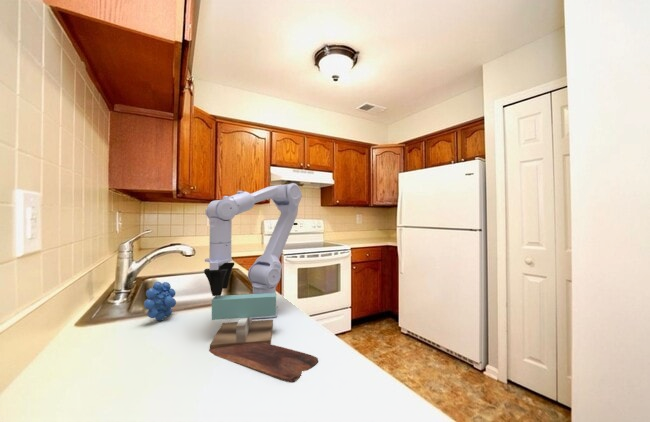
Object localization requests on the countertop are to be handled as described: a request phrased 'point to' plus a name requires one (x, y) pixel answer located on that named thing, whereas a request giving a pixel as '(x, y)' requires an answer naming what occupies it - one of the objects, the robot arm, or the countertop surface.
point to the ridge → (243, 333)
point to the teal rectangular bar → (243, 306)
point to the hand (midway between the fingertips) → (220, 291)
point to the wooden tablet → (268, 359)
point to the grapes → (160, 300)
